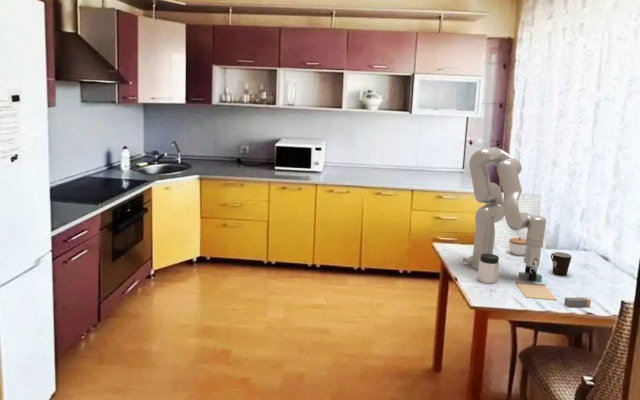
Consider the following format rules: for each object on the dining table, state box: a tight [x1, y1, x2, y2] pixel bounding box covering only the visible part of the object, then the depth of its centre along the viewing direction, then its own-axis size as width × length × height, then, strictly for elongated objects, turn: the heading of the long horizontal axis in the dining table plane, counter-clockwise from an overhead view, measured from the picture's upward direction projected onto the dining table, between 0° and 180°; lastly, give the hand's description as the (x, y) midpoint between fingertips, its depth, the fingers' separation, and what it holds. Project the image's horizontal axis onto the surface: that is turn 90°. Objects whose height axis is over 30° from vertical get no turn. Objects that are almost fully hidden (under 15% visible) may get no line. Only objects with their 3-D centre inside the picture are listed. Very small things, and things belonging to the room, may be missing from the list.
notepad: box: [515, 281, 557, 301], centre depth 257 cm, size 13×19×1 cm
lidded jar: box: [508, 237, 526, 257], centre depth 315 cm, size 11×11×9 cm
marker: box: [517, 271, 543, 283], centre depth 272 cm, size 10×3×3 cm, turn 84°
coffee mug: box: [550, 251, 573, 277], centre depth 284 cm, size 12×9×10 cm
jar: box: [476, 253, 500, 284], centre depth 267 cm, size 9×8×12 cm
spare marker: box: [563, 297, 592, 308], centre depth 241 cm, size 10×3×3 cm, turn 99°
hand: (529, 278), depth 272 cm, fingers open, 6 cm apart
